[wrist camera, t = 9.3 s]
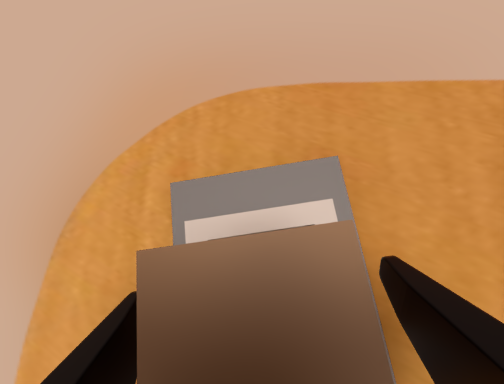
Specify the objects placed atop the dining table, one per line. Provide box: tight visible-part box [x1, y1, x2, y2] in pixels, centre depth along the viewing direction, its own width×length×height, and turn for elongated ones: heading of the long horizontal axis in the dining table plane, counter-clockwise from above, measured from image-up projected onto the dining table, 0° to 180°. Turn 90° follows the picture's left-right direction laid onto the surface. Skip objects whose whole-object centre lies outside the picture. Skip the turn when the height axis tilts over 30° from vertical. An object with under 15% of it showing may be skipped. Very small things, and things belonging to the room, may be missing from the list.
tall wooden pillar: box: [137, 219, 394, 384], centre depth 11 cm, size 5×5×13 cm
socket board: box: [170, 156, 396, 384], centre depth 17 cm, size 18×14×4 cm
